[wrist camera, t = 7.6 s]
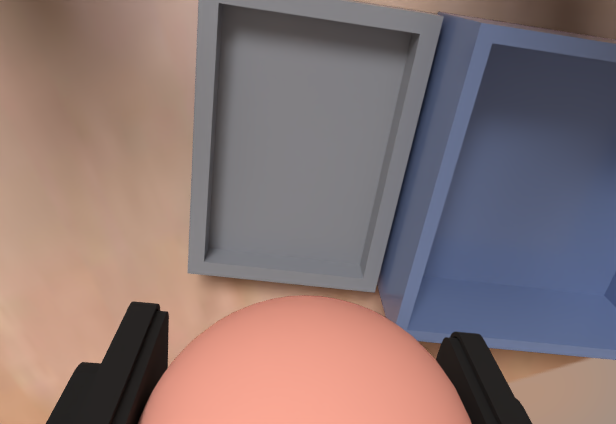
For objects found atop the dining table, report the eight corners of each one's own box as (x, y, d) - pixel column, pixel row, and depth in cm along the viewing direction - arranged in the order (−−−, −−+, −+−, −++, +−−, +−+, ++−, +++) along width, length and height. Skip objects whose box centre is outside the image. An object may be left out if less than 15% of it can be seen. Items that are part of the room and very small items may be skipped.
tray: (431, 12, 22) (443, 16, 20) (369, 272, 28) (374, 292, 26) (207, -23, 21) (199, -23, 19) (194, 253, 27) (187, 273, 25)
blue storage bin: (726, 57, 23) (845, 79, 18) (603, 298, 29) (666, 364, 24) (438, 11, 22) (481, 22, 17) (374, 273, 28) (391, 338, 23)
